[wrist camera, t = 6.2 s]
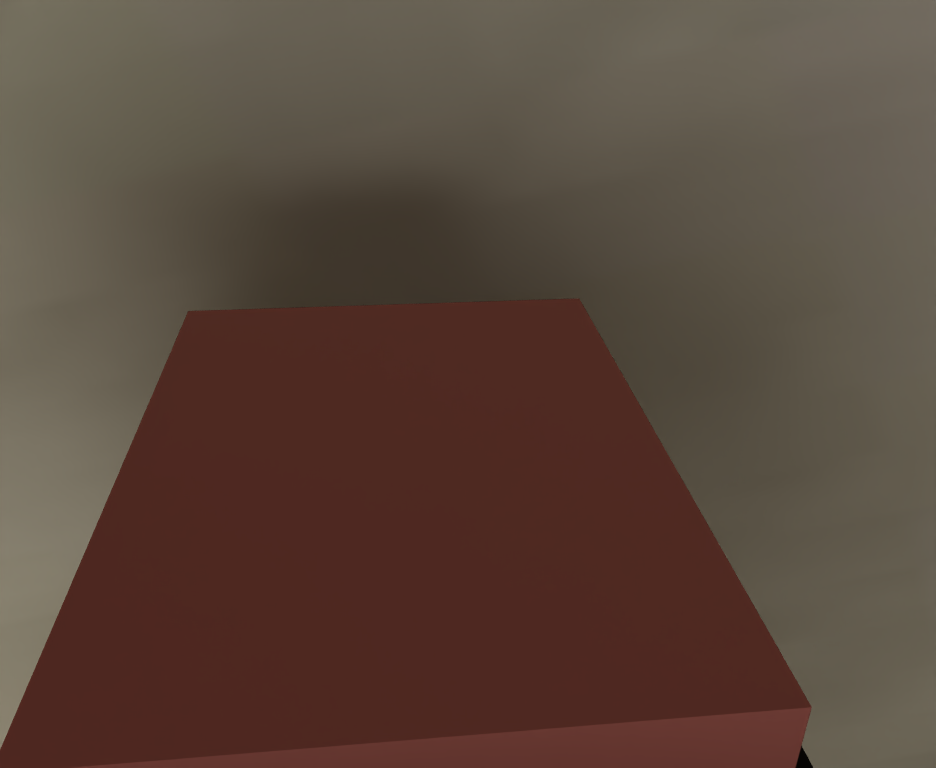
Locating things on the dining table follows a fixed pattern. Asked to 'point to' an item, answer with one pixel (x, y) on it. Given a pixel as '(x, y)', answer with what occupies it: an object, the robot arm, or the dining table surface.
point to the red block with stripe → (403, 563)
